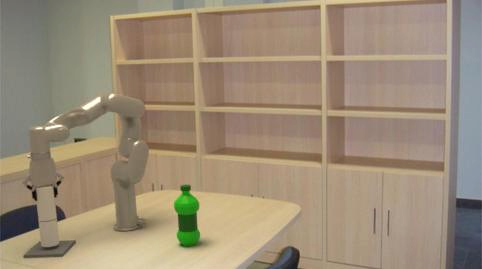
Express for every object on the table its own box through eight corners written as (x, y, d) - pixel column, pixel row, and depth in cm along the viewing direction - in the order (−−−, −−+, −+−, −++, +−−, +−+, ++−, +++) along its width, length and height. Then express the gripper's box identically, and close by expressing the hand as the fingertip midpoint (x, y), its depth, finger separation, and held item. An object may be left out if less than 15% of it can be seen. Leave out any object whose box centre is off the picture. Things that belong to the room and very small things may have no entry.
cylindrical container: (56, 239, 228) (50, 182, 224) (61, 244, 222) (55, 185, 218) (39, 243, 224) (33, 185, 220) (43, 248, 218) (37, 188, 214)
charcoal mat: (75, 242, 231) (75, 240, 231) (62, 256, 215) (62, 253, 215) (39, 243, 231) (39, 241, 231) (23, 257, 216) (23, 255, 215)
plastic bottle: (178, 240, 228) (174, 183, 225) (202, 239, 228) (199, 182, 224) (174, 248, 218) (170, 189, 215) (200, 247, 218) (196, 188, 214)
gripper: (19, 160, 210) (24, 204, 213) (64, 154, 218) (68, 197, 221) (17, 157, 216) (21, 200, 219) (61, 152, 225) (65, 193, 227)
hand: (45, 198), depth 220 cm, fingers closed on cylindrical container, 7 cm apart
